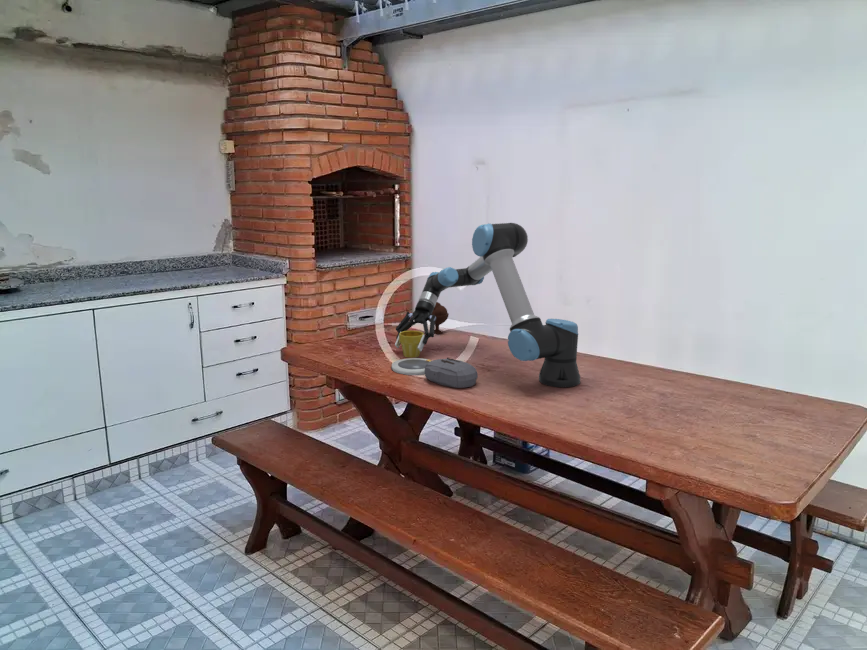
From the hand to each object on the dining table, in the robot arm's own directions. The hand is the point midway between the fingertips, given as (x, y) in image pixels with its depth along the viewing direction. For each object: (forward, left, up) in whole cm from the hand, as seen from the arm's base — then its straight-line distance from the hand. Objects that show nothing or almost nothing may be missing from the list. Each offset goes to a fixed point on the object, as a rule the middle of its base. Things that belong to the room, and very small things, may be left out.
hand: (407, 348), depth 271 cm
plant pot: (+1, -3, -4) cm, 5 cm away
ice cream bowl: (+24, -38, -4) cm, 45 cm away
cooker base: (-13, +7, -4) cm, 15 cm away
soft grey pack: (-35, +7, -5) cm, 36 cm away
